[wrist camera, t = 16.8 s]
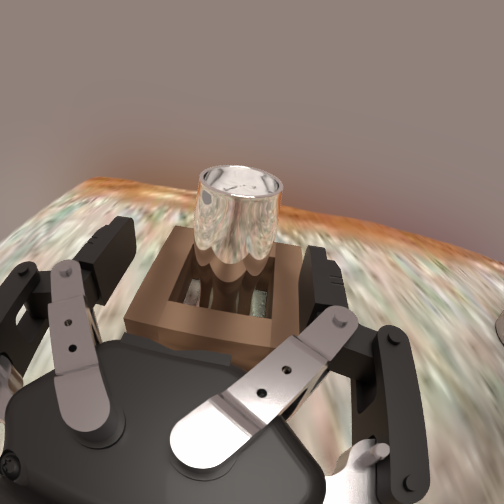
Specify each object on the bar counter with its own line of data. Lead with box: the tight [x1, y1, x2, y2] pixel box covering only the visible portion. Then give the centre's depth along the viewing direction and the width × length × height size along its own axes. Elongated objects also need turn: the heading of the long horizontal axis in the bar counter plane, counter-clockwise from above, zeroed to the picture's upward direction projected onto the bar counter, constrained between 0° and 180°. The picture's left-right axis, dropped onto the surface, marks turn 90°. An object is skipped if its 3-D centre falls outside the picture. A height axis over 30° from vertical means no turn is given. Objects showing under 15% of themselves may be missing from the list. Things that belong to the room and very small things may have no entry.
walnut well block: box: [124, 226, 302, 372], centre depth 30 cm, size 15×15×5 cm
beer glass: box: [194, 165, 283, 316], centre depth 27 cm, size 7×7×15 cm
